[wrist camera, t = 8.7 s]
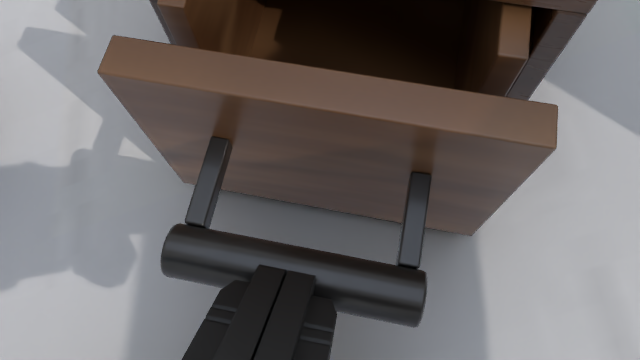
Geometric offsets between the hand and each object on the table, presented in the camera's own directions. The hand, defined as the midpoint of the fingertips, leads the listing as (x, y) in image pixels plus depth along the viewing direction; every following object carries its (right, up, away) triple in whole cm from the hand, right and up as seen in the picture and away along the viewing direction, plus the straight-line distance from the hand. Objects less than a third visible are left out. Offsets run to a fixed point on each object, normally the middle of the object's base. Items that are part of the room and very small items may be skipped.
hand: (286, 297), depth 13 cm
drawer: (+2, +6, +8) cm, 10 cm away
